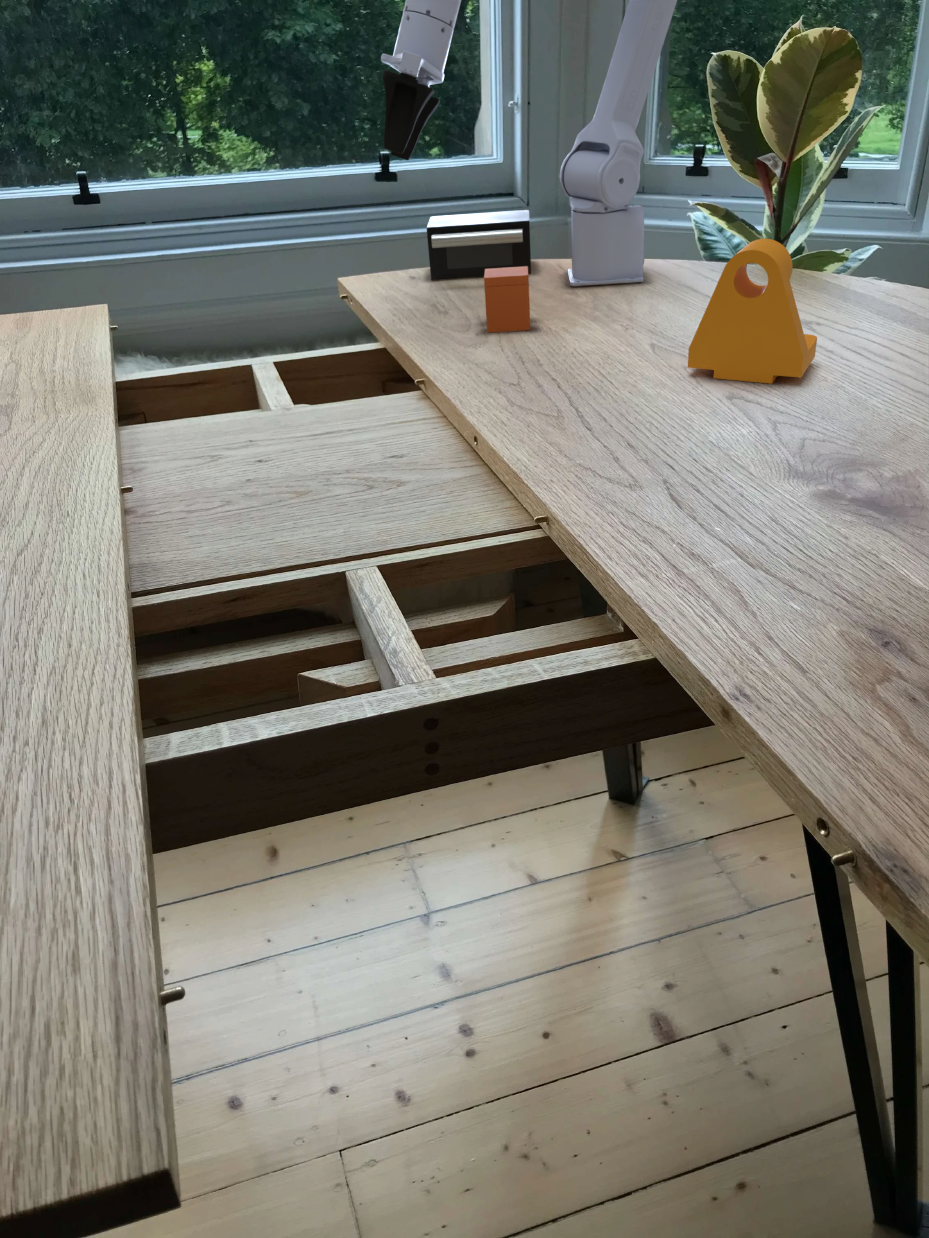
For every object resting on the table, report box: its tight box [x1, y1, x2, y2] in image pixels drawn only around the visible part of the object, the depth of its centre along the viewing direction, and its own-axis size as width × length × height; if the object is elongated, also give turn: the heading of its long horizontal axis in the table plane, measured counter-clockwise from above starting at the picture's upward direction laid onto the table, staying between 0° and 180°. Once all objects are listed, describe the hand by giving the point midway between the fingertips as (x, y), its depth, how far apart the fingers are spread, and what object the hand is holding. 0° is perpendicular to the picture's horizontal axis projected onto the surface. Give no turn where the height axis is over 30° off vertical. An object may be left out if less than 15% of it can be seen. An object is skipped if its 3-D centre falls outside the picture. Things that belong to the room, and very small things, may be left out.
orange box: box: [483, 266, 531, 334], centre depth 113 cm, size 5×4×6 cm
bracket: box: [687, 238, 818, 385], centre depth 93 cm, size 11×7×12 cm, turn 62°
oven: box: [426, 209, 532, 281], centre depth 135 cm, size 14×13×7 cm
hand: (396, 154), depth 110 cm, fingers open, 7 cm apart
